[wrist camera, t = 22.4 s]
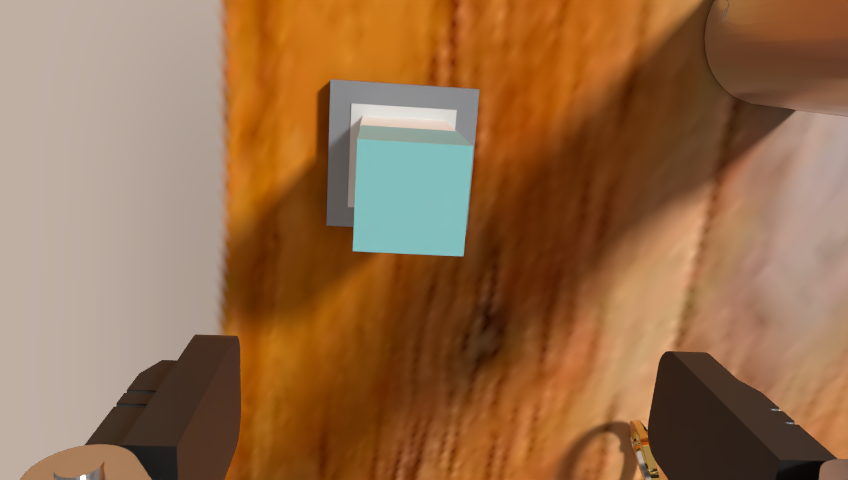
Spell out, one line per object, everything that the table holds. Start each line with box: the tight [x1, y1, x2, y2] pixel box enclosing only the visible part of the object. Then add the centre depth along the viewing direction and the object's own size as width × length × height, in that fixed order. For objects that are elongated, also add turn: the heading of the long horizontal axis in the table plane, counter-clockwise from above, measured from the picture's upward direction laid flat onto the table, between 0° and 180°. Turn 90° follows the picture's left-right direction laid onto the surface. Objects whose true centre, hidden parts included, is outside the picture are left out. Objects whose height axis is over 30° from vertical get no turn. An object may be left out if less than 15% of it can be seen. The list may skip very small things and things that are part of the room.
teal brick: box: [353, 125, 473, 256], centre depth 31 cm, size 5×5×6 cm
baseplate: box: [326, 79, 479, 232], centre depth 40 cm, size 9×9×1 cm
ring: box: [630, 418, 660, 480], centre depth 44 cm, size 7×3×8 cm, turn 14°
